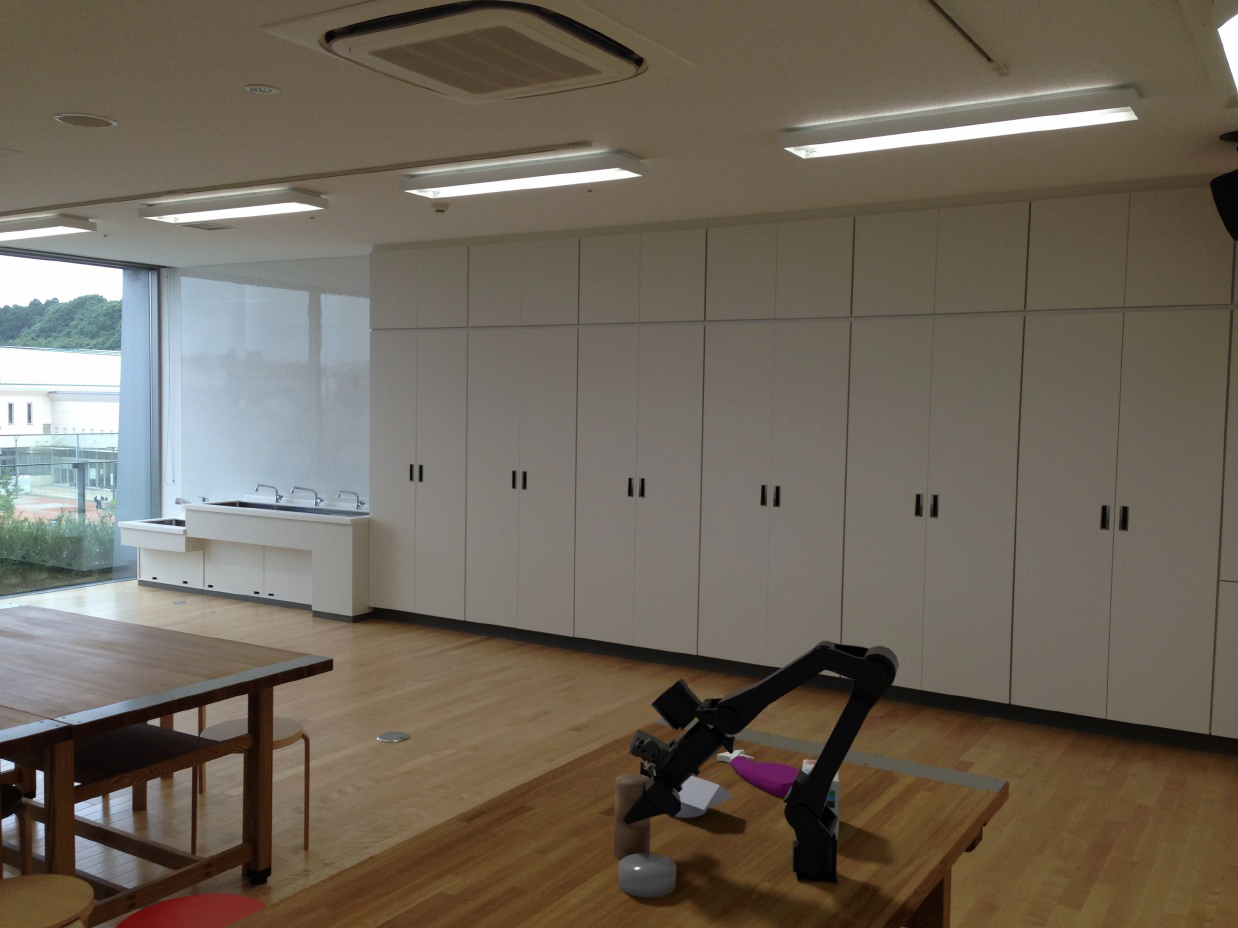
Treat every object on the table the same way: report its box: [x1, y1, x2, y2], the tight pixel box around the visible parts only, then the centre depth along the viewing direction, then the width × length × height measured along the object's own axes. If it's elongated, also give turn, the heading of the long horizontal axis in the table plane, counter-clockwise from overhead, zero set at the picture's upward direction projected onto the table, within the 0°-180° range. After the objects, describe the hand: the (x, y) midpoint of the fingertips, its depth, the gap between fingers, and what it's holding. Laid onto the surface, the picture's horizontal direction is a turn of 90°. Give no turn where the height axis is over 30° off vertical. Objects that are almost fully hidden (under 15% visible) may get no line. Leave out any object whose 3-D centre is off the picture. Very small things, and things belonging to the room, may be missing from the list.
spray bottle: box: [716, 749, 800, 798], centre depth 212 cm, size 3×11×24 cm
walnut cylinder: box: [613, 773, 651, 860], centre depth 172 cm, size 6×6×12 cm
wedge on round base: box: [673, 775, 735, 819], centre depth 191 cm, size 9×7×13 cm
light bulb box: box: [801, 759, 841, 842], centre depth 185 cm, size 11×7×11 cm, turn 168°
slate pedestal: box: [617, 852, 677, 899], centre depth 161 cm, size 9×9×3 cm
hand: (624, 814), depth 172 cm, fingers closed on walnut cylinder, 6 cm apart
